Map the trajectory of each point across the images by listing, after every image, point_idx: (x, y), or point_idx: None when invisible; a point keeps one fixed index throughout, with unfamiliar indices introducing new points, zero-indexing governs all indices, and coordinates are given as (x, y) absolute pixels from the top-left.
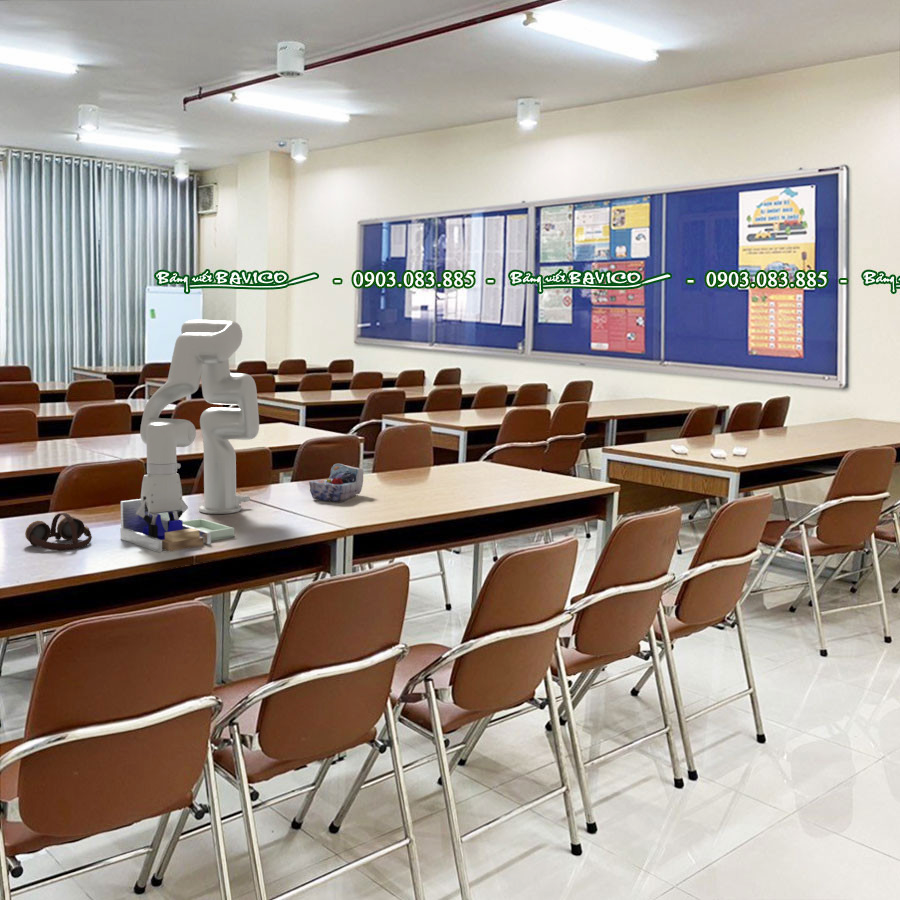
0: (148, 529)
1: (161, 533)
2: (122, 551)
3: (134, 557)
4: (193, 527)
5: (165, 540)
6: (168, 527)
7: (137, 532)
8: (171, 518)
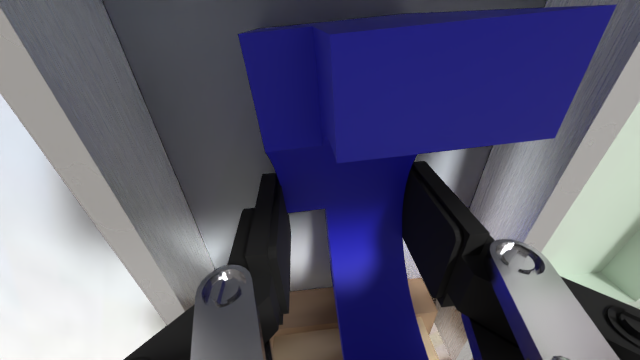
0: (235, 237)
1: (356, 181)
2: (71, 283)
3: (125, 353)
4: (571, 223)
5: (272, 341)
6: (427, 205)
7: (132, 245)
8: (481, 296)
